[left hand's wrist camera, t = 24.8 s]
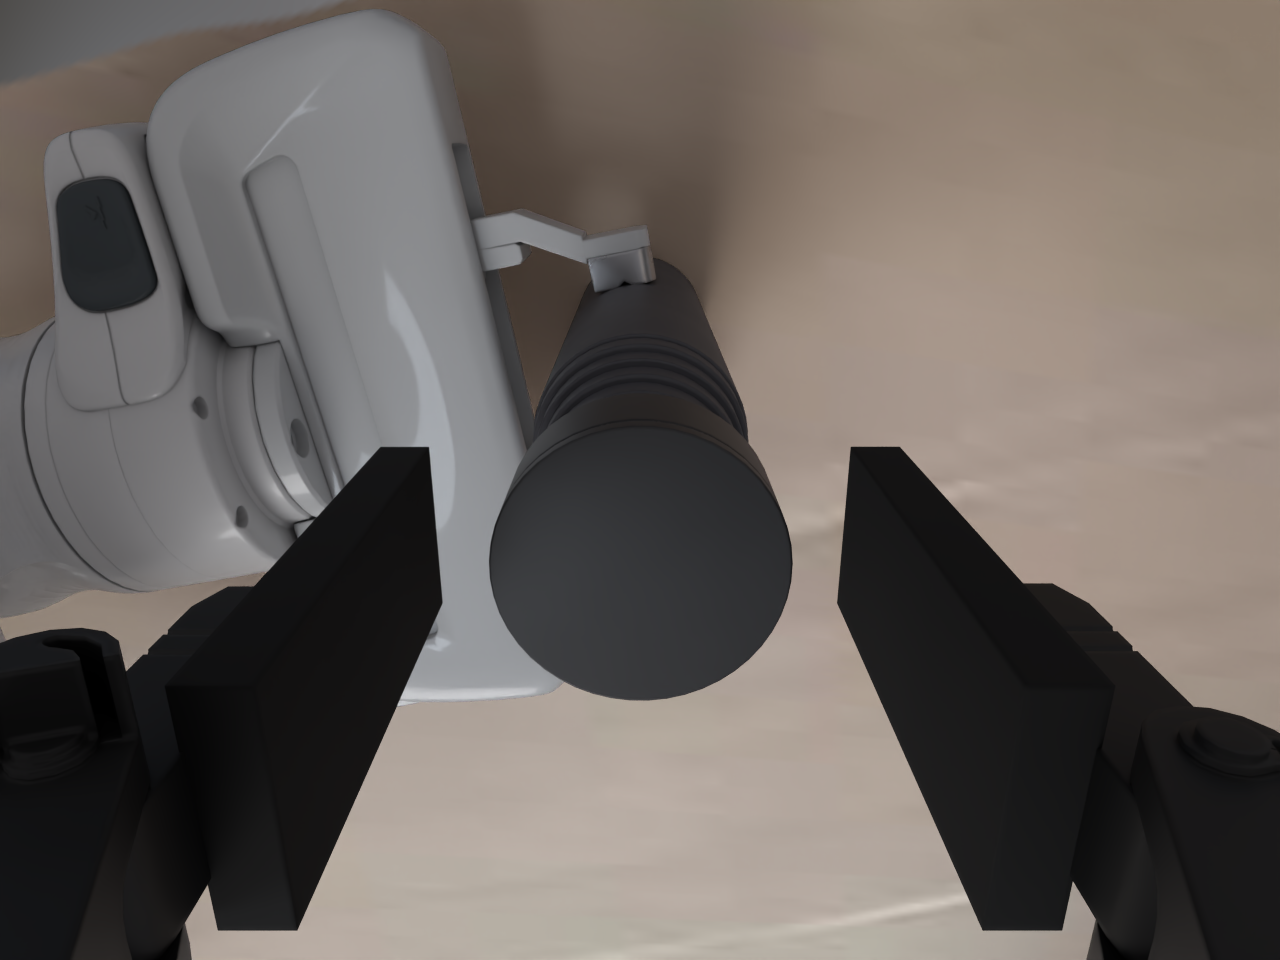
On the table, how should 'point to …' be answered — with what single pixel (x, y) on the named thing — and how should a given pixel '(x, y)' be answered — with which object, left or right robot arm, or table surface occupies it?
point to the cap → (640, 549)
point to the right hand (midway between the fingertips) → (669, 349)
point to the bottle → (641, 351)
